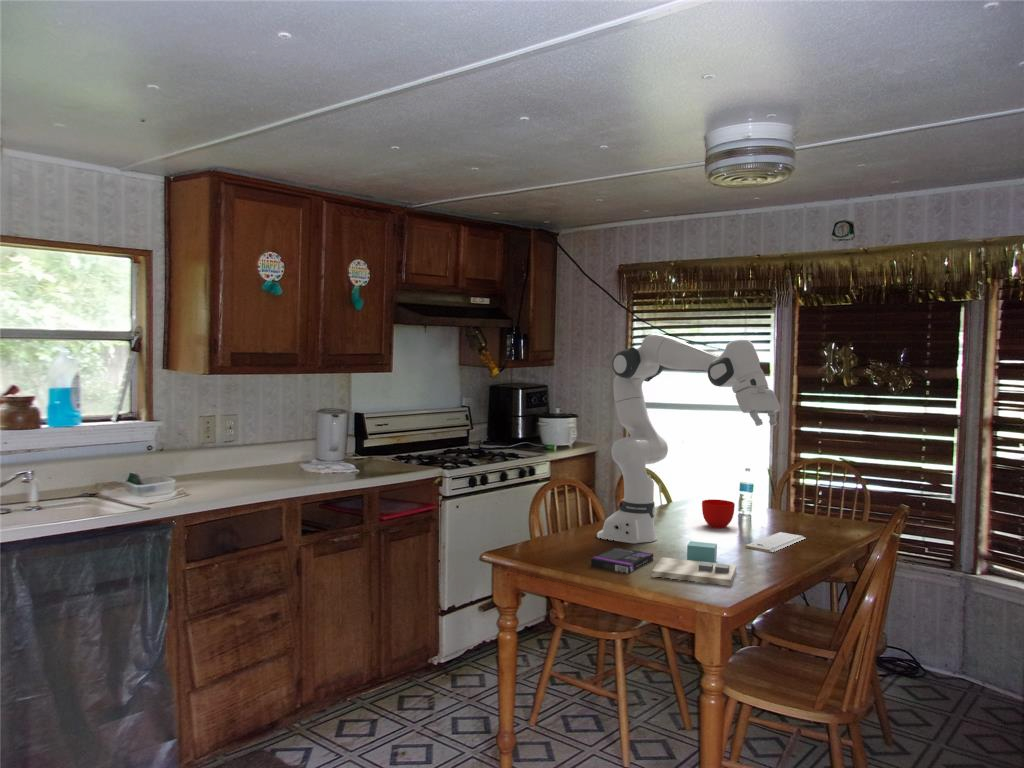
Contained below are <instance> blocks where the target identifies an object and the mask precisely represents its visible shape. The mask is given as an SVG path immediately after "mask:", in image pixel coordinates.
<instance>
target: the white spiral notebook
mask: <svg viewBox="0 0 1024 768" xmlns="http://www.w3.org/2000/svg"><path fill="white" fill-rule="evenodd" d="M806 538H807V537H804V536H803V535H800V534H792V533H787V532H781V531H779V532H777V533H774V534H771V535H769V536H766V537H763V538H761V539H758V540H755V541H753V542H751V543H747V542H745V546H744V548H745V547H746V548H745V549H749V548H751V549H750V550H754V549H756V550H755V551H759V550H762V551H761V552H765V551H766V552H765V553H770V552H772V553H771V554H774V553H777V552H779V551H781V550H783V548H784V549H786V548H788V547H790V545H791V546H793V545H795V544H794V543H796V542H798V543H800V542H802V541H801V540H803V541H805V540H807V539H806ZM804 539H805V540H804ZM799 541H800V542H799ZM792 544H793V545H792ZM796 544H797V543H796ZM787 546H788V547H787ZM785 547H786V548H785ZM780 549H781V550H780ZM778 550H779V551H778ZM776 551H777V552H776ZM773 552H774V553H773Z"/></svg>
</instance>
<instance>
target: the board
mask: <svg viewBox="0 0 1024 768" xmlns="http://www.w3.org/2000/svg"><path fill="white" fill-rule="evenodd" d="M700 562H701V561H691V560H687V559H679V558H671V557H661V558H660V560H659V561H658V562H657V564H656V565H655V566H654V568H652V570H651V578H655V577H662V578H661V579H664V578H670V579H669V580H672V579H679V580H678V581H681V580H688V581H687V582H689V581H695V582H694V583H698V582H703V583H702V584H706V583H712V584H711V585H714V584H719V585H718V586H723V585H727V586H726V587H731V586H732V584H731V583H733V580H734V579H735V575H736V573H737V565H736V564H729V563H728V564H727V563H726V564H725V563H722V564H723V565H730V566H729V572H728V573H720V572H715V566H716V564H720V563H718V562H716V563H713V570H712V572H711V571H702V570H699V564H700ZM704 563H710V562H704ZM733 578H734V579H733Z"/></svg>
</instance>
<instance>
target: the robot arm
mask: <svg viewBox="0 0 1024 768" xmlns="http://www.w3.org/2000/svg"><path fill="white" fill-rule="evenodd" d="M611 365H612V370H613V373H614V374H615V375H616V376H615V377H614V379H613V386H612V387H613V396H614V398H613V399H614V404H615V409H616V413H617V417H618V423H619V424H620V425H621V426H622V427H623V428H624V429H625V430H626V431H627V432H628V434H629V435H630V436H626V437H625V436H624V437H622V438H620V439H617V440H616V441H614V442H613V444H612V446H611V457H612V460H613V461H614V463H616V464H617V465H618V467H619V469H620V472H621V473H622V477H623V498H622V499H620V500H619V502H618V505H617V507H618V510H616V511H615V512H613V513H612V514H611V515H610V516H608V517H607V518H606V519H605V520H604V523H603V527H602V529H601V530H599V531H598V532H597V533H596V537H597V539H600V538H601V540H607V539H608V541H613V540H614V541H615V542H621V543H628V544H640V543H641V544H642V543H651V542H655V541H657V540H658V537H657V534H656V528H655V521H654V520H655V519H654V518H655V512H656V510H655V509H656V506H655V504H656V503H655V501H654V496H655V494H654V493H655V492H654V491H655V488H654V487H655V482H654V480H653V479H652V477H651V476H649V475H648V473H647V468H646V465H653V464H656V463H659V462H661V461H662V460H664V459H665V458H666V456H667V455H668V450H669V449H668V448H669V447H668V443H667V441H666V440H665V439H664V438H663V437H662V436H661V435H660V434H659V433H658V432H657V431H656V429H655V427H654V425H653V424H652V422H651V420H650V417H649V415H648V410H647V406H646V401H645V396H644V394H643V393H644V392H643V388H642V387H643V383H644V382H646V383H647V382H648V383H649V382H650V381H651V380H653V379H654V378H656V377H657V376H659V375H660V374H661V373H662V372H663V370H664V368H666V369H672V370H679V371H680V370H682V371H683V370H686V371H687V370H699V371H700V370H702V371H707V377H708V380H709V382H710V383H711V384H712V385H714V386H715V387H719V388H721V387H723V388H726V387H727V388H731V389H732V392H733V393H734V394H735V398H736V402H737V404H738V407H739V410H740V411H741V412H742V413H743V414H749V416H750V417H751V419H752V420H753V421H754V425H755V426H756V427H757V426H759V427H760V426H762V425H763V419H761V418H760V416H759V414H767V416H768V418H769V420H768V423H769V425H770V426H771V427H772V426H776V425H778V423H777V412H780V411H781V405H780V402H779V400H778V398H777V395H776V394H775V392H774V391H773V390H772V389H771V388H769V385H768V381H767V378H766V376H765V372H764V370H763V369H762V368H761V364H760V359H759V355H758V353H757V350H756V349H755V347H754V345H753V342H751V341H750V340H749V339H735V340H732V341H729V342H728V343H727V344H726V347H725V349H724V350H723V352H722V353H721V354H720V355H718V354H714V353H711V352H708V351H705V350H703V349H701V348H699V347H696V346H693V345H691V344H689V343H687V342H685V341H683V340H680V339H679V338H676V337H673V336H671V335H670V336H669V335H666V334H661V333H660V334H659V333H651V334H648V335H646V336H645V337H644V338H643V339H642V342H641V344H640V346H639V347H637V348H636V347H633V346H632V347H630V348H627V349H623V350H621V351H618V352H617V353H615V355H614V356H613V358H612V364H611ZM614 541H613V542H614Z"/></svg>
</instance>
